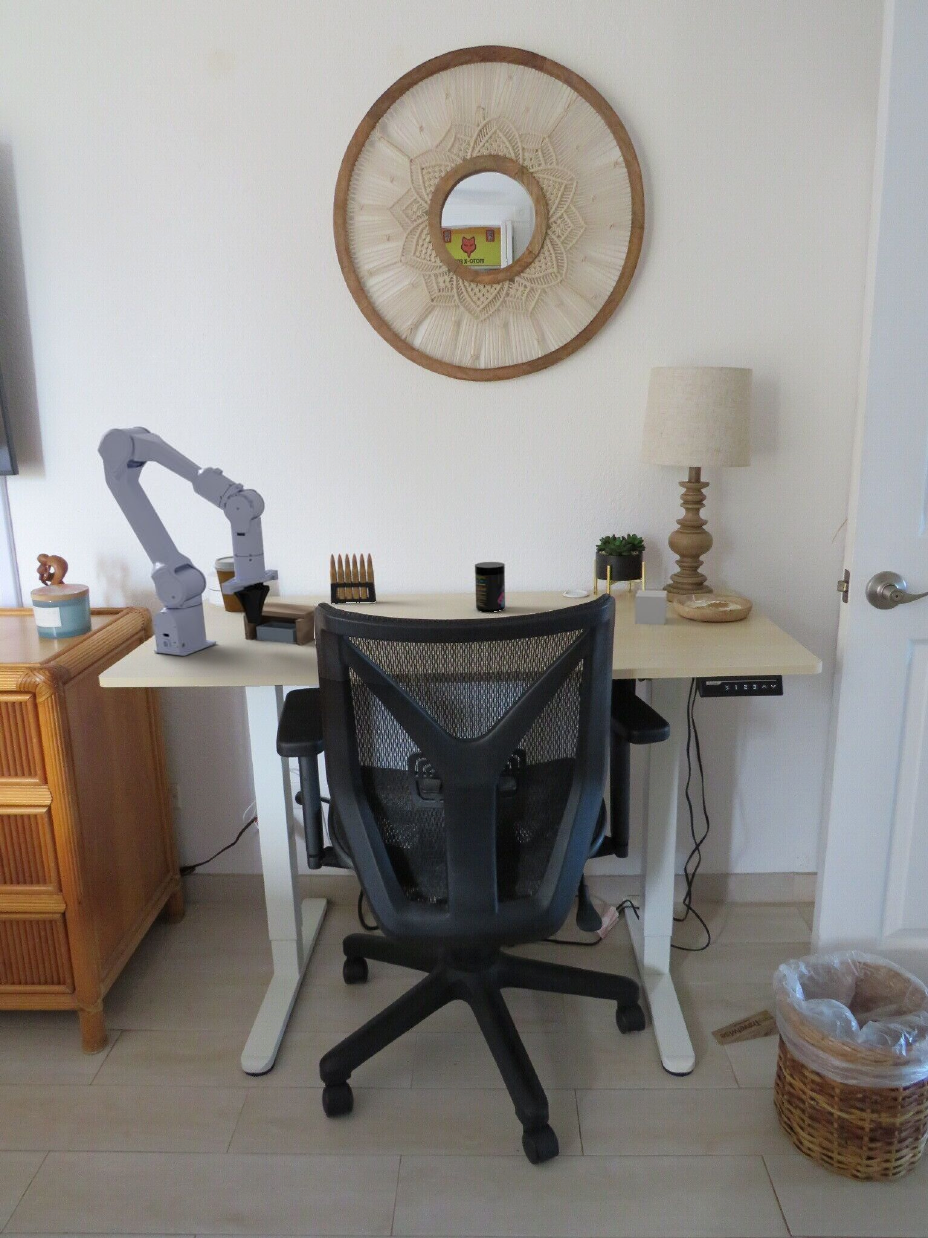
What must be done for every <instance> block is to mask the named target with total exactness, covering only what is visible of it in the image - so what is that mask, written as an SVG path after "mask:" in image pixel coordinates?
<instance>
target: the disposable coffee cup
mask: <svg viewBox="0 0 928 1238" xmlns="http://www.w3.org/2000/svg"><path fill="white" fill-rule="evenodd" d="M213 568H214V569H215V571H216V575H217V580H218V585H219V589H220V591H221V597H222V602H223V605H224V610H225V611H226V612H230V613H239V612H241V613H242V612H244V610H243V607H242V605H241V603H240V602H239V600H238V599H237V597H236V596H235V594H234V593H233V594H222V585H221V584H222V583H225V582H227V581H229V580H231V579H232V578H234V577H235V569H234V558H233V555H229V556H228V555H227V556H221V557H219V558H216V559H214V564H213Z"/></svg>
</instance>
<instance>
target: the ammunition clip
mask: <svg viewBox="0 0 928 1238" xmlns="http://www.w3.org/2000/svg"><path fill="white" fill-rule="evenodd" d="M352 554H353V555H352V559H351V561H350V557H349V554H348V553H346V554H345V558H344V565H343V558H342V555H341V554H340V553H338V556H337V566H336V560H335V556H334V554H333V553H331V555H330V559H329V562H330V566H329V567H330V568H329V575H330V576H329V579H330V604H331V605H333V604H332V603H335V604H334V605H339V604H338V603H346V602H356V603H357V602H359V603H360V602H375V601H376V602H377V595H376V587H375V586H376V585H375V575H374V573H375V570H374V567H373V566H374V565H373V559H372V555H371V553H368V554H367V558H366V560H367V561H366V562H365V557H364V554H363V553H360V556H359V567H358V560H357V556H356V553H352ZM365 563H366V564H367V565H366V564H365ZM351 564H352V565H351ZM351 566H352V567H351Z"/></svg>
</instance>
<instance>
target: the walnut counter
mask: <svg viewBox="0 0 928 1238" xmlns="http://www.w3.org/2000/svg"><path fill="white" fill-rule="evenodd" d="M315 607H316V605H307V604H306V605H304V604H295V603H294V604H293V603H284V602H283V603H282V602H273V601H272V602H271V601H267V602H264V606H263V611H262V617H261V622H260V623H257V624H252V623H248V621H247V618H246V615H245V614H243V616H242V618H243V625H244V636H245V639H246V640H251V639H254V638H257V629H256V627H257V626H260V625H263V624H265V623H268V622H270V621H276V622H286V623H296V632H297V642H296V643H297V646H303V645H306V644H307V642H308V643H310V642H313V641H314V609H315Z"/></svg>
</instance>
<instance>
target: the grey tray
mask: <svg viewBox="0 0 928 1238" xmlns="http://www.w3.org/2000/svg"><path fill="white" fill-rule="evenodd" d="M256 629H257V637H256V638H257V639H258V640H259V641H268V642H275V643H276V642H278V643H284V642H286V643H285V644H292V643H293V644H296V643H297V632H296V623H286V622H276V621H270V622H268V623H265V624H263V625H260V626H257V627H256ZM295 642H296V643H295Z"/></svg>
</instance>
